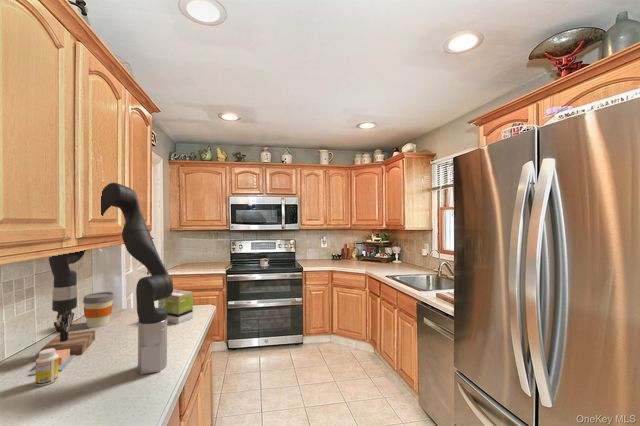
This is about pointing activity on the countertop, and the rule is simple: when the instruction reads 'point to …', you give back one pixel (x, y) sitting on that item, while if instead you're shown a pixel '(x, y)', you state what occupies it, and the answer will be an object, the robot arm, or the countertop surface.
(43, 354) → the supplement bottle
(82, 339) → the block
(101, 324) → the reusable coffee cup
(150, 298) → the robot arm
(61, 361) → the salmon foam block
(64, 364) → the mat
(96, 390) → the countertop surface
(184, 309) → the tea box
